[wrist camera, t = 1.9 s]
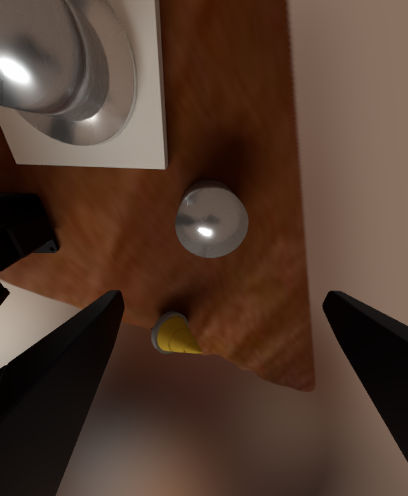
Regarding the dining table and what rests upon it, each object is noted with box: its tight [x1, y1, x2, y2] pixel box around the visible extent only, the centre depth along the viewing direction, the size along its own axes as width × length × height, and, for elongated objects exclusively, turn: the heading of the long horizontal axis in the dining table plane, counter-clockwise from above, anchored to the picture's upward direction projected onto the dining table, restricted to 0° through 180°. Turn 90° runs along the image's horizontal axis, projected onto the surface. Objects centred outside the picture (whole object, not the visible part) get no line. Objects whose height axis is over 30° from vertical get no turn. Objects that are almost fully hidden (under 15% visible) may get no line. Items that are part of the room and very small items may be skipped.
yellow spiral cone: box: [150, 311, 203, 354], centre depth 24 cm, size 5×5×10 cm
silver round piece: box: [0, 0, 109, 121], centre depth 9 cm, size 6×6×5 cm
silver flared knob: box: [175, 179, 248, 258], centre depth 17 cm, size 6×6×5 cm
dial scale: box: [0, 0, 168, 169], centre depth 10 cm, size 12×16×7 cm
